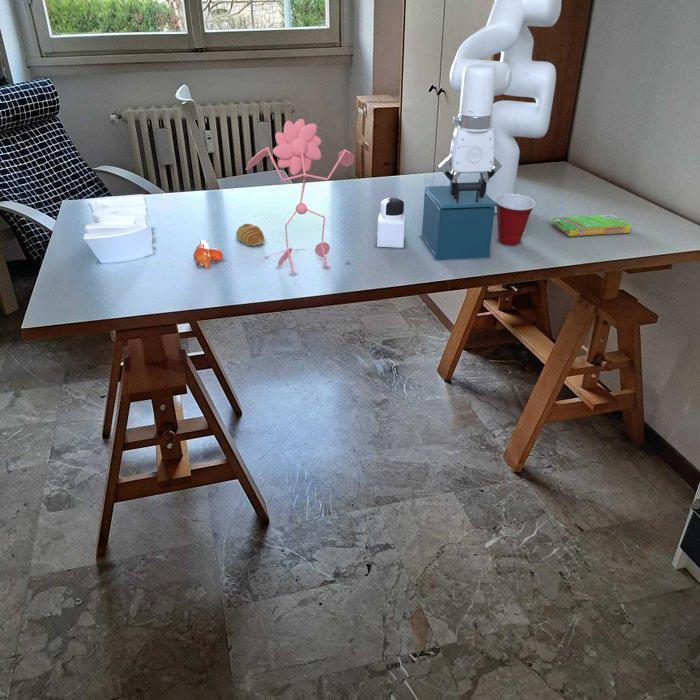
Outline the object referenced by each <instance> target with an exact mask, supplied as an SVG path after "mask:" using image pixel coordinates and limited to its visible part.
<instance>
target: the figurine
mask: <svg viewBox="0 0 700 700" xmlns="http://www.w3.org/2000/svg"><path fill="white" fill-rule="evenodd" d="M317 129H318V126H317V124H316V123H308V124H306V123H305V119H303V118H299V119H297V120H296V121H295V122H294V123H293V121H291V120H287V121H285V122H284V125H283V132H281V131H277V132H276V133H275V135H274V138H275V142H276V144H277V145H276V146H275V147H273V150H272V153H273V155H274V156H275V157H277V158H279V159H278V161H277V163H276V161H275V159H274V157H273V155H272V153H271V151H270V147H269V146H266V147H265V148H263V149H261V150H260V151H258V152H257V153H256V154H255V155H254V156H253V157H252V158H251V159H250V160H249V161H248V163H247V165H246V166H245V171H248V170H250V169H251V168H253V167H255V166H256V165H257V164H258V163H259V162H261V161H262V160H263V159H264V158H265V156H266V155H267V154H268V156H269V158H270V161H271V163H272V164H273V167H274V169H275V171H276V173H277V175H278V177H279V179H280V181H281V183H283V182H287V181H291V180H294V179H298V178H301V177H302V186H301V194H300V200H299V203H298V204H297V205H296V206H295V211H294V212H293V214H292V215H291V216H290V218H289V219H288V221H287V222H286V223H285V226H284V230H285V243H286V249H285V250H284V249H283V250H281V251H279V252H275V253H273V254H270V255H267V256H265V257H264V258H263V259H262V260H261V261H260V262H259V264H261V263H262V262H263V261H264V260H266V259H267V258H270V257H271V256H274V255H277V254H280V253H282V255H281V256H280V258H279V259H278V262H277V264H278V265H277V266H278V268H280V267H281V266H282V265H284V263H285V262H286V261H287V260H288V261H289V265H290V270H291V274H292V275H295V270H294V265H293V259H292V256H291V254H292V251H299V250H304V248H295V249H293V248H292V247H289V242H288V228H287V227H288V225H289V224H290V222H291V220H292V219H293V218H294V216H295V215H296V214H299V215H305V214H306V213H307V212H308V213H311V214H314V215H316V216H318V217H321V218H323V219H322V231H321V242H319V243H317V244H316V246H315V248H314V253H315V254H316V255H317V256H319V257H320V258H323V261H324V265H325V266H324V267H325V268H328V262H327V256H326V255H327V254H328V253H329V252H330V249H331V248H330V244H329V243H328V242H326V241H324V235H325V223H326V217H325V216H324V215H322V214H320V213H318V212H315V211H312V210H310V209H308V207H307V205H306V204H305V203H303V198H304V193H305V187H306V180H307V179H306V178H308V177H309V178H313V179H317V180H322V181H326V182H329V180H330V179H331V177H332V176H333V173H334V172H335V171H336V169H337V168H338V166H339V165H340V164H341V165H343V167H346V168H349V167H351V165H353V164H354V161H355V157H354V154H352V152H351V151H349V150H347V149H345V148H344V149H343V150H341V151H339V153H338V155H337V161H336V162H335V164H334V166H333V168H332V169H331V171H330V173H329V174H328V176H327V177H323V176H319V175H313V174H310V173H309V174H308V173H306V172H309V171H310V170H311V167H312V161H320V159H322V152H321V149H320V147H319V146H320V145H321V144H322V139H321V138H320V137H319V136H318V135H316V133H317V131H318V130H317ZM279 168H280V169H285V168H289V172H290V174H291V175H292V176H289V177H285V178H283V176H282V173H281V172H280V169H279ZM301 170H302V172H303V173H300V172H301ZM299 173H300V174H299ZM328 179H329V180H328ZM347 264H350V262H349V261H347Z"/></svg>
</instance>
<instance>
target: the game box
mask: <svg viewBox="0 0 700 700" xmlns="http://www.w3.org/2000/svg"><path fill="white" fill-rule="evenodd" d="M549 220H550V222H552V223H553V226H554V227H556V228H557V229H559V230H560V231H561V232H562V233H564V234H565V235H566V236H568V237H577V236H580V237H581V236H597V235H614V234H615V235H616V234H630V231H631V227H632V225H631V224H629V223H628V222H626V221H624V220H623V219H621V218H619V217H617V216H616V215H614V214H603V215H601V214H599V215H585V216H584V215H583V216H566V217H565V216H562V217H551V218H549Z"/></svg>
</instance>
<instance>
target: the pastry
mask: <svg viewBox="0 0 700 700" xmlns="http://www.w3.org/2000/svg"><path fill="white" fill-rule="evenodd" d="M235 235H236V238H237V240H238V241H239V242H240V243H242V244H243V245H246V246H251V247H256V246H258V245H262V244H264V242H265V235H264V234H263V231H262V230H261V228H260V227H259V226H257V225H254V224H253V223H244V224H242V225H240V226H239V227H238V228H237V230H236V232H235Z"/></svg>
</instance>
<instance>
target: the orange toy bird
mask: <svg viewBox="0 0 700 700" xmlns="http://www.w3.org/2000/svg"><path fill="white" fill-rule="evenodd" d="M222 259H223V253H222V250H220V249H218V248H215V247H213V248H209V243H208V242H207V241H206V240H205V239H200V241H199V244H198V245H197V246H196V247H195V250H194V252H193V261H194V262H195V263H196V264H198V265H199V267H201V268H206V269H209V267H210V264H211V262H214V263H218V262H220V261H221V260H222Z"/></svg>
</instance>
